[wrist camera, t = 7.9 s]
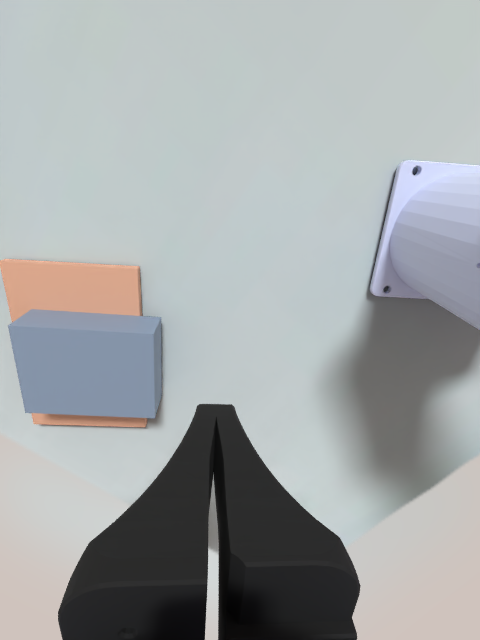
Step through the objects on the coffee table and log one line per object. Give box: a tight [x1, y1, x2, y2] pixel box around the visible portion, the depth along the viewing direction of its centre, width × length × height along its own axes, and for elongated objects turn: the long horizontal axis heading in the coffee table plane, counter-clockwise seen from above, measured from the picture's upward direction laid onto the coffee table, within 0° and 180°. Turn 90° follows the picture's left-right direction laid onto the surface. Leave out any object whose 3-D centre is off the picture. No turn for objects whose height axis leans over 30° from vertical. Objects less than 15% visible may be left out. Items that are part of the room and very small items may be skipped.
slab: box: [8, 309, 162, 418], centre depth 22 cm, size 2×6×8 cm
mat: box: [0, 259, 147, 427], centre depth 23 cm, size 8×12×1 cm, turn 176°
